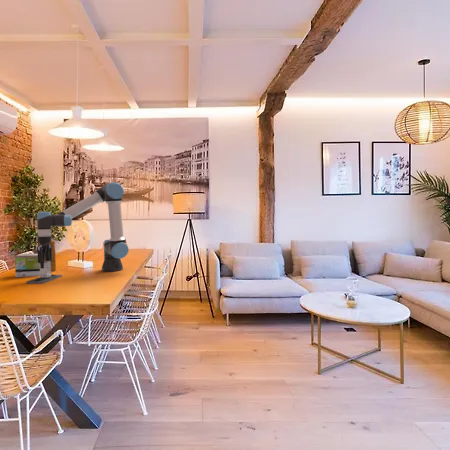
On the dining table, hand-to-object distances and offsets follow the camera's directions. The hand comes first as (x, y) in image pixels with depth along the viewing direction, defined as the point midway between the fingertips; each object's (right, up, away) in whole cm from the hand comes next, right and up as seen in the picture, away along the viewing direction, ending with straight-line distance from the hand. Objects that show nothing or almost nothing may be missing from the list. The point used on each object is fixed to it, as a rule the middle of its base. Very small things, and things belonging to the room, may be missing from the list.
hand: (45, 272), depth 203 cm
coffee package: (-18, -4, +33) cm, 38 cm away
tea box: (-19, -5, +15) cm, 25 cm away
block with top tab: (0, -3, 0) cm, 3 cm away
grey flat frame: (0, -5, 0) cm, 5 cm away
